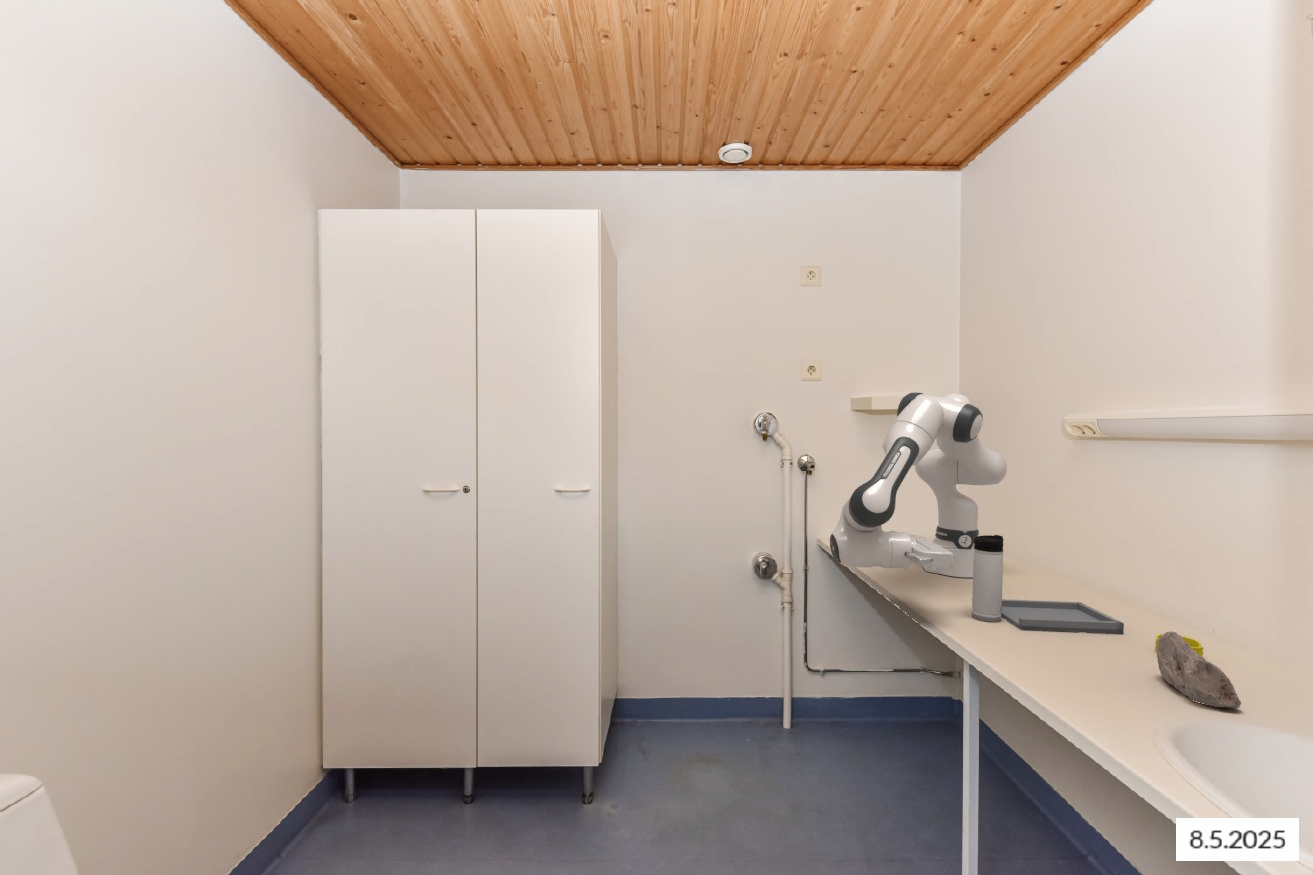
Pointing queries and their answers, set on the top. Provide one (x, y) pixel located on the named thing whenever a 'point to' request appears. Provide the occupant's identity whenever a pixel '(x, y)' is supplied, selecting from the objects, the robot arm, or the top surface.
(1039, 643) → the top surface
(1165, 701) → the top surface
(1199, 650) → the bracelet
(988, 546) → the travel mug
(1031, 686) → the top surface
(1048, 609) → the slate tray
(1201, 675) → the pumice stone
